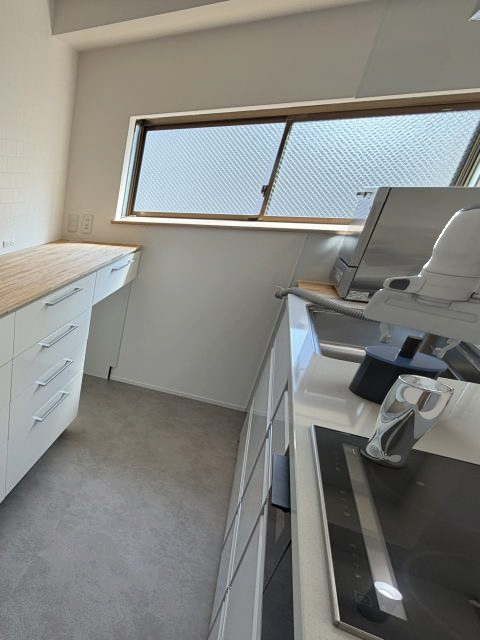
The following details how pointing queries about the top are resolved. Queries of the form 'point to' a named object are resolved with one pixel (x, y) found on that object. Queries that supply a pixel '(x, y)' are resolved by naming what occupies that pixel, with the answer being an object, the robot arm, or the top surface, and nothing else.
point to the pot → (381, 378)
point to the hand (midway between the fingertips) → (408, 349)
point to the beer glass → (406, 418)
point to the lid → (407, 355)
